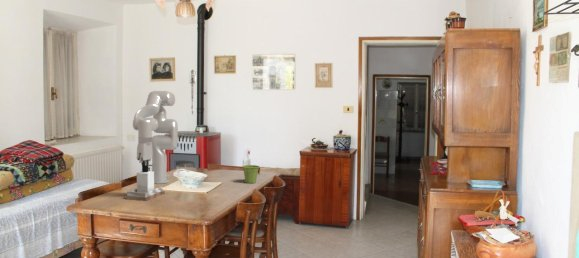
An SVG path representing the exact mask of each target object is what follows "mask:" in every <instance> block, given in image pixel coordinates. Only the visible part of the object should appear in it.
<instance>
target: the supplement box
mask: <svg viewBox="0 0 579 258" xmlns="http://www.w3.org/2000/svg"><path fill="white" fill-rule="evenodd" d="M136 189H137V192H140V193H146V192H148V191H151V190H154V189H155V183H154V172H153V171H152V170H151V171H150V170H148V172H142V170H141V171H139V172H137V173H136Z"/></svg>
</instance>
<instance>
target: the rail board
mask: <svg viewBox="0 0 579 258" xmlns="http://www.w3.org/2000/svg"><path fill="white" fill-rule="evenodd" d="M163 189H164V188H163V186H159V187H157V188H154V190H151V191H148V192H146V193H140V192H137V188H134V189H131V190H128V191H126V195H125V196H124V199H125V200H133V201H137V200H138V201H147V202H148V201H150V200H152V199H154V198H155V199H156V198H157V197H159V196H162V195H165V193H166V191H165V190H163Z"/></svg>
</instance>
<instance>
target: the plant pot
mask: <svg viewBox="0 0 579 258" xmlns="http://www.w3.org/2000/svg"><path fill="white" fill-rule="evenodd" d="M260 167H261V166H260V165H256V164H246V165H242V168H243V176H244V182H245V183H246V184H255V183H257V179H258V173H259V169H260Z"/></svg>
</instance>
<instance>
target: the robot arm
mask: <svg viewBox="0 0 579 258" xmlns="http://www.w3.org/2000/svg"><path fill="white" fill-rule="evenodd" d="M175 103H176V96H175V94H174V93H173V92H171V91H167V90H153V91H150V92H149V93H148V95H147V99H146V103H145V106H143V107H141V108H140V109H138V110H137V111H136V112H135V114H134V116H133V120H132V128H133V130H135V131H137V132H138V133H137V134H138V135H137V139H138V140H137V141H138V143H137V147H136V160H137V161H138V163H140V164H141V171H142V172H148V171H149V165H150V162H151V171H153V172H154V184H157V185H159V184H167V183H169V182H170V179H168V178H169V177H170V174H169V173H167V171H168V165H167V164H168V163H167V162H168V159H167V158H168V157H167V156H168V155H167V153H166V152H165V150H166V151H167V150H171V151H172V150H176V149H178V139H179V138H178V136H179V135H178V133H179V132H178V129H179V127H178V125H179V124H178V121H177V120H176V119H173V118H167V110H166V109H165V108H164V107H172V106H174V104H175ZM153 132H154V133H156V135H153ZM157 134H158V135H157ZM160 134H161V135H160ZM165 134H168V135H165ZM169 134H170V135H169Z"/></svg>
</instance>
